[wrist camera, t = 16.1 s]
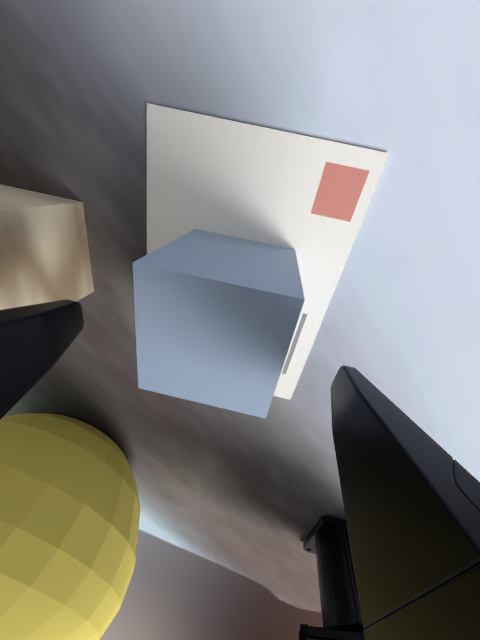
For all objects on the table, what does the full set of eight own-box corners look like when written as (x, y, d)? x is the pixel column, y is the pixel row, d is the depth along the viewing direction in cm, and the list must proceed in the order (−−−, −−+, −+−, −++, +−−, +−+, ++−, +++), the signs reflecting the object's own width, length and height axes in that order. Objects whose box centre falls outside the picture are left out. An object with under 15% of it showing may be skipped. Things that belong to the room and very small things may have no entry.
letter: (290, 398, 17) (290, 399, 17) (147, 363, 17) (146, 364, 17) (388, 153, 10) (389, 153, 10) (148, 104, 10) (146, 103, 10)
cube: (271, 334, 15) (265, 418, 9) (188, 316, 15) (138, 388, 10) (295, 249, 12) (304, 299, 7) (195, 228, 12) (132, 262, 7)
